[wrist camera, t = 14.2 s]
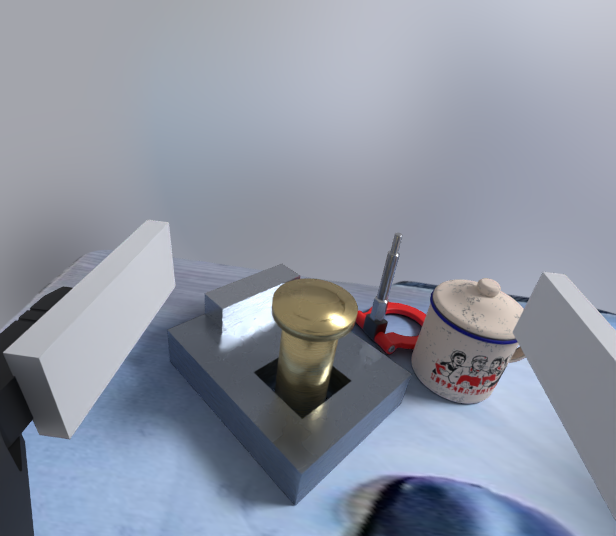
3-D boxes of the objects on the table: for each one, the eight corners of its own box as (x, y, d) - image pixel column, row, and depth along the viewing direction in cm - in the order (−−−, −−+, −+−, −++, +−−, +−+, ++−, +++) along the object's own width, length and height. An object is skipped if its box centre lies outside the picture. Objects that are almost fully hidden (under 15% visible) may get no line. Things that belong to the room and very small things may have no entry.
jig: (400, 403, 37) (419, 353, 33) (295, 505, 27) (306, 451, 24) (277, 309, 47) (282, 263, 43) (170, 360, 37) (165, 308, 34)
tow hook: (403, 304, 51) (346, 317, 47) (429, 214, 45) (367, 219, 41) (450, 343, 45) (389, 362, 41) (488, 243, 39) (422, 253, 35)
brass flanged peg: (346, 411, 35) (374, 308, 29) (296, 454, 31) (316, 344, 25) (298, 370, 39) (314, 270, 32) (247, 403, 34) (254, 296, 28)
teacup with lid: (420, 404, 37) (460, 308, 31) (400, 339, 45) (428, 253, 39) (538, 413, 38) (599, 322, 32) (498, 348, 45) (541, 265, 39)
